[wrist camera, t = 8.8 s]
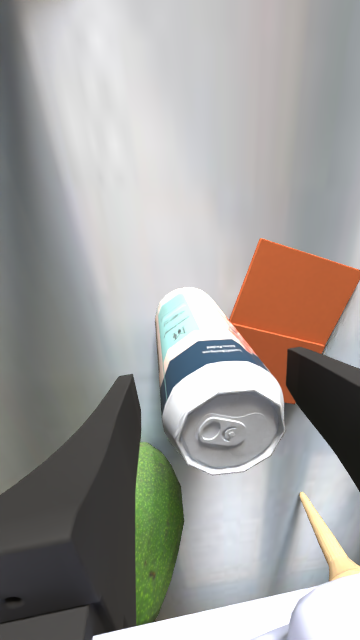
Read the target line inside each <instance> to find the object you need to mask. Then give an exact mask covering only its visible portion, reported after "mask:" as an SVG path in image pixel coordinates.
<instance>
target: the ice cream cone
mask: <svg viewBox="0 0 360 640" xmlns="http://www.w3.org/2000/svg"><path fill="white" fill-rule="evenodd" d="M299 496H300V499H301V502H302V504H303V506H304V508H305V511H306V513H307V516H308V518H309V521H310V523H311V525H312V528H313V530H314V533H315V535H316V538H317V540H318V543H319V545H320V547H321V549H322V552H323V554H324V556H325V559H326V561H327V563H328V565H329V582H330V581H333V580H336V579H338V578H341V577H345V576H349V575H354V574H358V573H360V566H358V565H357V564H356V563H354V562H353V561H351V560H350V559H349V558H348V557H347V555H346V553H345V552H344V550H343V549H342V547H341V546H340V544H339V543H338V541H337V540H336V538H335V537H334V535H333V534H332V532H331V531H330V530H329V528H328V527H327V525H326V524H325V522H324V521H323V519H322V518H321V516H320V515H319V514H318V512H317V511H316V509H315V508H314V507H313V505H312V503H311V502H310V500H309V499H308V497H307V496H306V495H305V494H304V493H303V492H300V494H299Z"/></svg>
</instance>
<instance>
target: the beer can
mask: <svg viewBox="0 0 360 640" xmlns="http://www.w3.org/2000/svg"><path fill="white" fill-rule="evenodd" d="M155 326H156V340H157V354H158V369H159V383H160V398H161V412H162V422H163V429H164V432H165V434H166V436H167V438H168V440H169V442H170V443H171V445H172V446H173V447H174V448H175V449H176V450H177V451H178V453H179V454H180V455H181V456H182V457H183V458H184V460H185V462H186V464H187V465H189V466H192V467H194V468H196V469H199V470H201V471H203V472H206V473H208V474H210V475H221V474H230V473H239V472H245V471H247V470H248V469H250V468H252V467H253V466H255V465H257V464H258V463H260V462H261V461H263V460H265V459H266V458H268V457H270V456H271V455H272V454H273V452H274V450H275V449H276V447H277V445H278V443H279V442H280V440H281V438H282V436H283V435H284V433H285V431H286V428H285V424H284V398H283V393H282V389H281V387H280V385H279V383H278V382H277V380H276V379H275V377H274V376H273V375H272V374H271V372H270V371H269V370H268V369H267V367H266V366H265V365H264V364H263V362H262V361H261V360H260V359H259V357H258V356H257V355H256V354H255V352H254V351H253V350H252V348H251V347H250V346H249V345H248V343H247V342H246V341H245V340H244V338H243V337H242V336H241V335H240V333H239V332H238V331H237V330H236V328H235V327H234V326H233V325H232V323H231V322H230V321H229V320H228V318H227V317H226V316H225V315H224V313H223V312H222V311H221V310H220V308H219V307H218V306H217V304H216V303H215V302H214V301H213V299H212V298H211V297H210V296H209V295H208V294H206V293H205V292H203V291H202V290H199V289H196V288H188V287H184V288H179V289H176V290H174V291H172V292H170V293H169V294H167V295H166V296H165V297H164V298H163V299H162V300H161V302H160V303H159V305H158V308H157V310H156V315H155Z"/></svg>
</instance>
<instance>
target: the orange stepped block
mask: <svg viewBox="0 0 360 640" xmlns="http://www.w3.org/2000/svg"><path fill="white" fill-rule="evenodd" d="M359 280H360V270H358V269H355V268H352V267H349V266H346V265H343V264H340V263H337V262H333V261H330V260H327V259H324V258H321V257H318V256H315V255H312V254H309V253H305V252H302V251H299V250H296V249H293V248H290V247H287V246H284V245H281V244H278V243H274V242H271V241H268V240H265V239H262V238H260V240H259V242H258V245H257V248H256V250H255V253H254V256H253V258H252V261H251V263H250V266H249V269H248V271H247V274H246V277H245V279H244V282H243V285H242V287H241V290H240V293H239V295H238V298H237V301H236V303H235V306H234V309H233V311H232V314H231V317H230V319H229V321H230V322H231V323H232V325H233V326H234V327H235V328H236V330H237V331H238V332H239V333H240V335H241V336H242V337H243V338H244V340H245V341H246V342H247V343H248V345H249V346H250V347H251V348H252V350H253V351H254V352H255V354H256V355H257V356H258V357H259V359H260V360H261V361H262V362H263V364H264V365H265V366H266V367H267V369H268V370H269V371H270V372H271V374H272V375H273V376H274V377H275V379H276V380H277V382H278V383H279V385H280V387H281V389H282V393H283V398H284V402H285V403H291V404H295V403H296V402H295V400H294V399H293V397H292V395H291V394H290V392H289V390H288V388H287V386H286V369H287V349H289V348H295V347H303V348H306V349H309V350H312V351H315V352H317V353H320V354H322V352H323V350H324V348H325V344H326V342H327V341H328V339H329V337H330V335H331V333H332V331H333V329H334V327H335V325H336V324H337V322H338V320H339V318H340V316H341V314H342V312H343V310H344V308H345V307H346V305H347V303H348V301H349V299H350V297H351V295H352V293H353V291H354V290H355V288H356V286H357V284H358V282H359Z"/></svg>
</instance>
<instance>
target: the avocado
mask: <svg viewBox="0 0 360 640" xmlns="http://www.w3.org/2000/svg"><path fill="white" fill-rule="evenodd" d="M183 525H184V514H183V504H182V493H181V486H180V483H179V481H178V479H177V476H176V474H175V472H174V470H173V468H172V465H171V464H170V462H169V461H168V460H167V459H166V457H165V456H164V455H163V454H162V452H161V451H159V450H158V449H156V448H155V447H153V446H152V445H150V444H149V443H143V442H140V449H139V459H138V468H137V478H136V492H135V574H136V623H137V626H140V625H144V624H149V623H153V622H154V621H155V619H156V618H157V616H158V614H159V612H160V609H161V606H162V603H163V601H164V598H165V595H166V592H167V590H168V587H169V584H170V581H171V578H172V574H173V570H174V567H175V563H176V559H177V555H178V551H179V546H180V541H181V536H182V530H183Z"/></svg>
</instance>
